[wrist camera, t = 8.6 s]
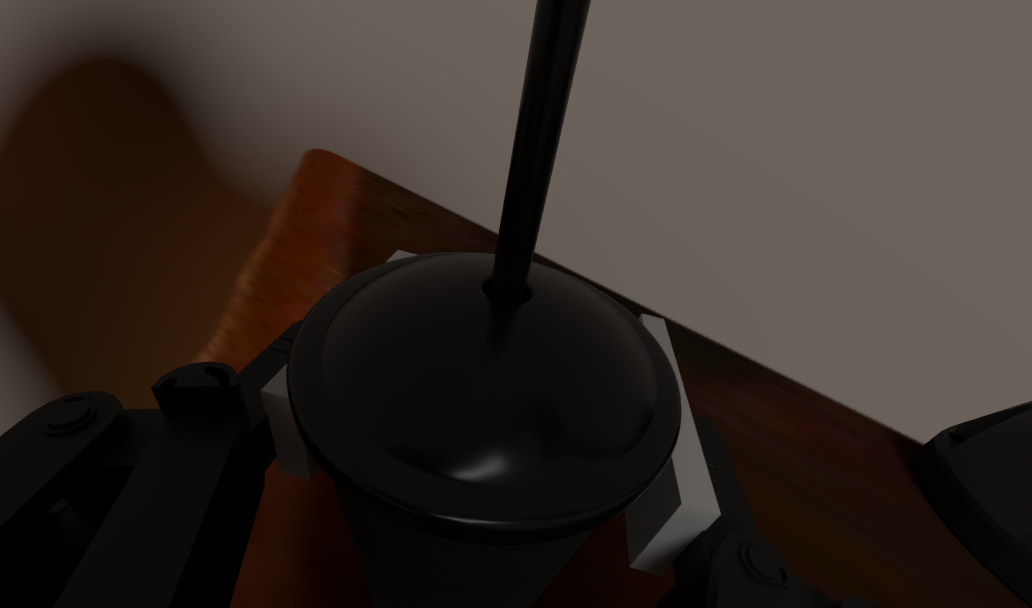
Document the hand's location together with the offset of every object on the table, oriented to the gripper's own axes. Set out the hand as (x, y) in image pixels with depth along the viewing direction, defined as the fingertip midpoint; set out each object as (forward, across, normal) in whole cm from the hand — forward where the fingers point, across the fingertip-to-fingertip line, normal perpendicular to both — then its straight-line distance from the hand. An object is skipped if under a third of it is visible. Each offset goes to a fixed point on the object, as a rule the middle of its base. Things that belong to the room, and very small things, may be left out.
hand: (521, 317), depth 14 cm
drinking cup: (-5, 0, -11) cm, 12 cm away
